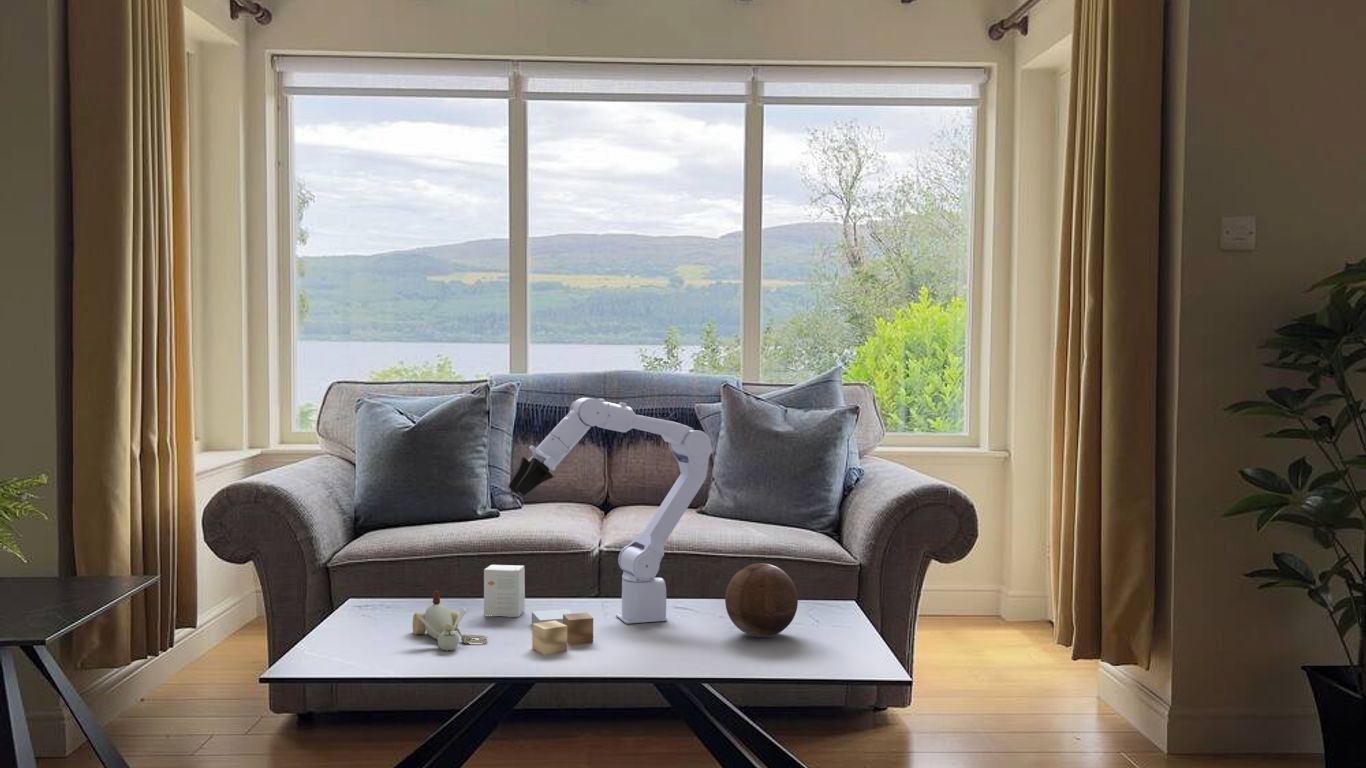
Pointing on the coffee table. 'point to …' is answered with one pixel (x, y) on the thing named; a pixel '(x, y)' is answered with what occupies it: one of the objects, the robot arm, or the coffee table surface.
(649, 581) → the robot arm
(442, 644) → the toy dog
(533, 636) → the oak cube
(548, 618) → the slab
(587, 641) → the walnut cube
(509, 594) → the small box
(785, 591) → the wooden sphere
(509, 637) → the coffee table surface
